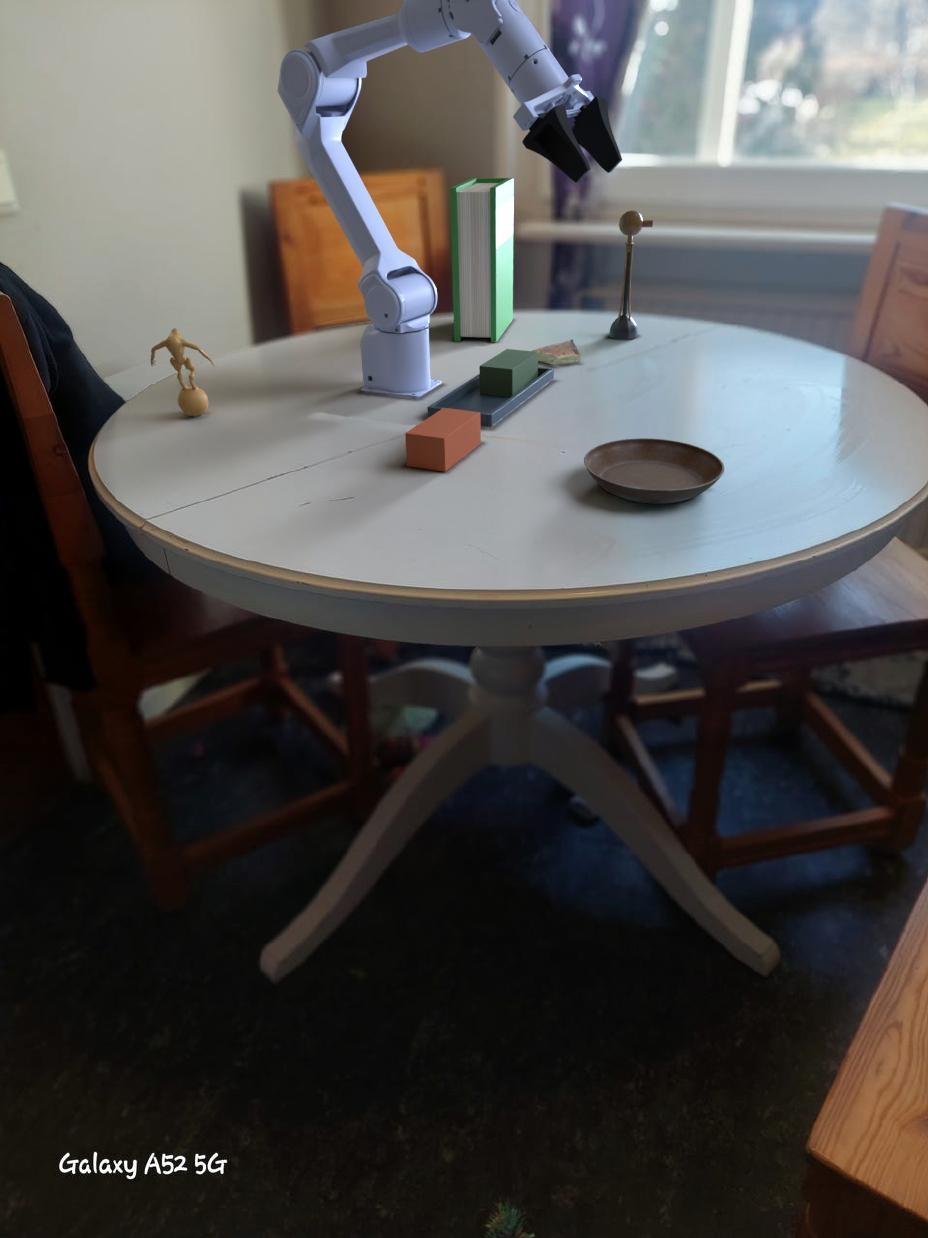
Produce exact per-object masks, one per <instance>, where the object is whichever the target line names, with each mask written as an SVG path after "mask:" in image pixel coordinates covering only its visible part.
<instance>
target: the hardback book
mask: <svg viewBox="0 0 928 1238" xmlns="http://www.w3.org/2000/svg"><path fill="white" fill-rule="evenodd" d="M514 189H515V178H514V177H473V178H469V179H467V180H465V181H463V182H460V183H458V184H456V185H454V186H452V187H450V188H449V190H450V191H449V193H450V194H449V195H450V196H449V197H450V228H451V230H450V231H451V232H450V233H451V265H452V266H451V267H452V269H451V271H452V301H453V302H452V305H453V306H452V309H453V338H454V339H453V341H454V342H461V340H462V339H463V338H490V343H498V341H499V340H500V338H501V337H502V336H503V334H504V332H505V331H506V330H507V328H508V327H509V326H510V324H511V323H512V322H513V320H514V216H515V215H514V212H515V211H514V210H515V207H514V205H515V203H514V200H515V197H514V196H515V193H514V192H515V190H514Z"/></svg>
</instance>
